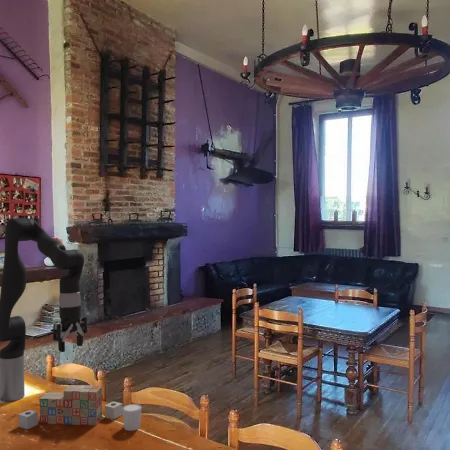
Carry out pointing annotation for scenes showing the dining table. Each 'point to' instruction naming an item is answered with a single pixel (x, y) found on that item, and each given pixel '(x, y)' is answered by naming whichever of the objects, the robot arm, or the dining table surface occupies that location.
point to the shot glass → (132, 416)
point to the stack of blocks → (72, 406)
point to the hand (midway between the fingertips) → (71, 348)
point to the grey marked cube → (28, 419)
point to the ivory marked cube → (113, 410)
